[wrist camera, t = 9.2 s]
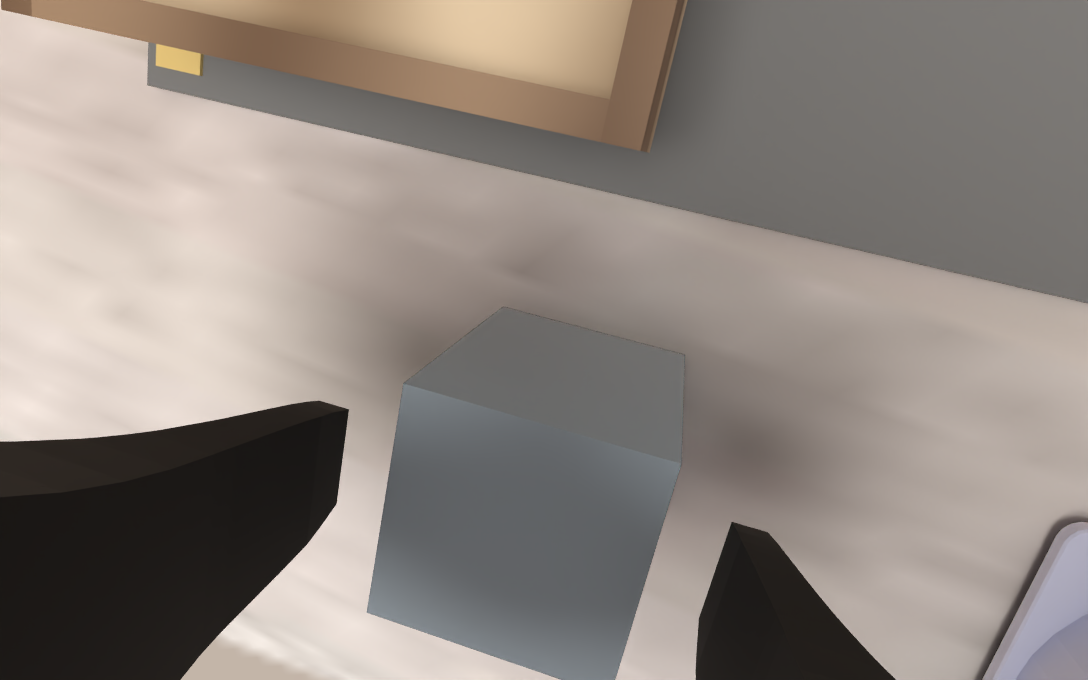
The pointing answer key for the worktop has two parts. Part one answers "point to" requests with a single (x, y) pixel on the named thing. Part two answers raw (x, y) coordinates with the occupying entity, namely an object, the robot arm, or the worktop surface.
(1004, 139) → the plate
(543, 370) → the block
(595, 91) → the shallow wooden tray
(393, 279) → the worktop surface
